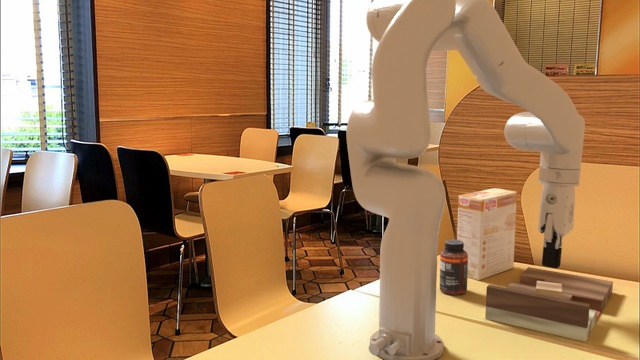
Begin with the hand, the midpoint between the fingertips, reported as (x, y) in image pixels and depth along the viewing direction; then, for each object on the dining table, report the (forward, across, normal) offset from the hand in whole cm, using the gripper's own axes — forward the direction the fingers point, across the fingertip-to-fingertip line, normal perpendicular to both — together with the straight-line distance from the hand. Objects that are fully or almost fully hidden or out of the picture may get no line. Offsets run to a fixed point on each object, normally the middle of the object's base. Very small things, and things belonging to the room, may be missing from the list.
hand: (550, 266), depth 115 cm
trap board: (+9, +2, 0) cm, 9 cm away
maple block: (+6, -7, -2) cm, 10 cm away
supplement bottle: (+9, -2, +20) cm, 22 cm away
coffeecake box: (+9, +16, +18) cm, 26 cm away
